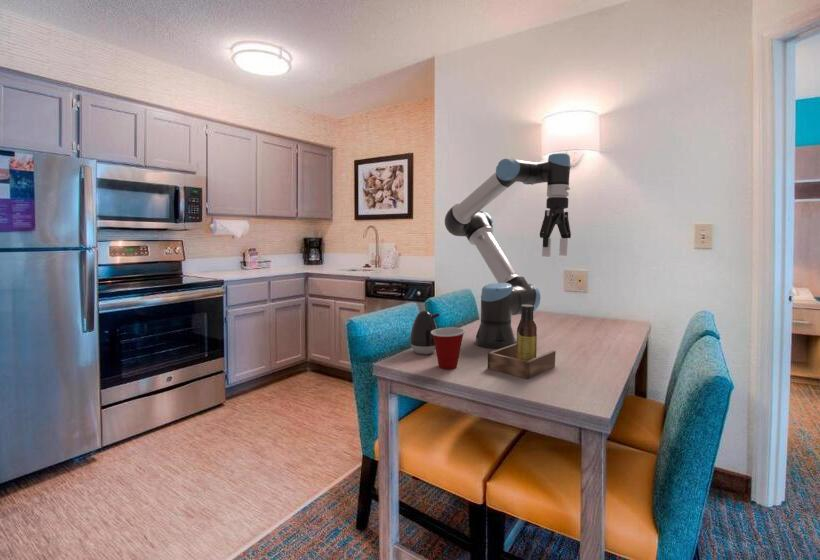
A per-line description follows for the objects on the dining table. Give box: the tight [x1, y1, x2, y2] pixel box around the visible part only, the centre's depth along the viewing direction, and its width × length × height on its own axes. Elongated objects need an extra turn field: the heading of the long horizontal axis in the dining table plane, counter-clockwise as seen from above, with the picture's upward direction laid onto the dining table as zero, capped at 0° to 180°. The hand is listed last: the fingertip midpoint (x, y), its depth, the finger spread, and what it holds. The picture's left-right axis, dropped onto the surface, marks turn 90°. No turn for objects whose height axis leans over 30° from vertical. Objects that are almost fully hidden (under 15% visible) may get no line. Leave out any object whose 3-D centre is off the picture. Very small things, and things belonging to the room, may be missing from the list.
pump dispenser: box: [409, 310, 440, 355], centre depth 149 cm, size 10×10×15 cm
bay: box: [486, 342, 556, 380], centre depth 134 cm, size 14×18×5 cm
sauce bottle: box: [516, 304, 538, 361], centre depth 136 cm, size 6×6×20 cm
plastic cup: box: [431, 326, 466, 370], centre depth 133 cm, size 11×11×12 cm
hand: (554, 256), depth 154 cm, fingers open, 13 cm apart
